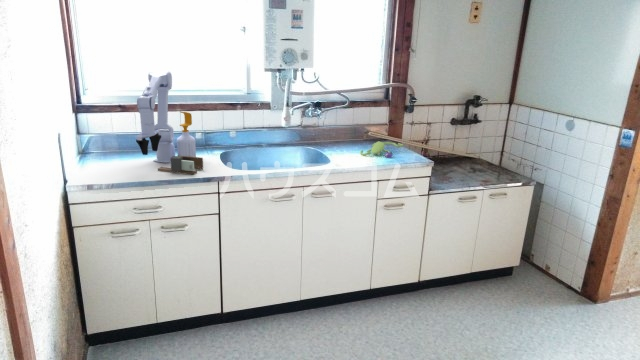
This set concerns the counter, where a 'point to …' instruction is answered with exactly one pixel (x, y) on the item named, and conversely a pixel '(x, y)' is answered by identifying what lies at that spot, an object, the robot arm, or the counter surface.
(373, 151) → the figurine
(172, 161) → the block
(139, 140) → the robot arm
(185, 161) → the pale green block
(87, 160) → the counter surface
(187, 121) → the soap bottle
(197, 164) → the door frame
